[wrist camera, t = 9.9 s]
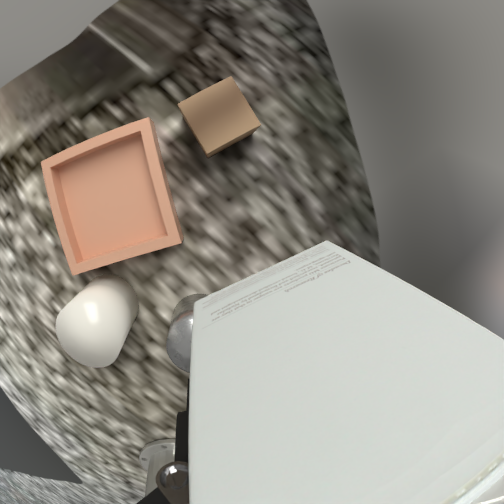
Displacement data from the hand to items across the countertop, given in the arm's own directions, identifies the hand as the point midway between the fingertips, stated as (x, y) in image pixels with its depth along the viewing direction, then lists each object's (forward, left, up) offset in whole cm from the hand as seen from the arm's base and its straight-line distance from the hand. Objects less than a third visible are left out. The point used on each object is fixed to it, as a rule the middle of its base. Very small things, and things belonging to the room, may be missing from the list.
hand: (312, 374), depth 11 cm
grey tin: (-6, +7, -20) cm, 22 cm away
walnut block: (+13, 0, -20) cm, 24 cm away
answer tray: (+9, +12, -20) cm, 25 cm away
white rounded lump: (-1, +16, -20) cm, 25 cm away
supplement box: (0, 0, -4) cm, 4 cm away
